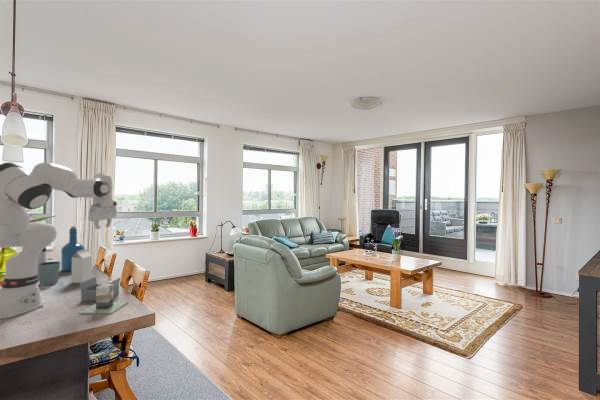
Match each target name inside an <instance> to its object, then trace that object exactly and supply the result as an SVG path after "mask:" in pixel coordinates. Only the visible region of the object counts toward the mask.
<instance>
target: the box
mask: <svg viewBox="0 0 600 400" xmlns="http://www.w3.org/2000/svg"><path fill="white" fill-rule="evenodd" d="M101 284H102V283H101ZM113 302H114V297H113V284H107V283H103V284H102V285H100V286H98V287H96V301H95V304H96V309H108V308H110V307H111V306H113Z"/></svg>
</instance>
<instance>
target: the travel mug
mask: <svg viewBox="0 0 600 400" xmlns="http://www.w3.org/2000/svg"><path fill="white" fill-rule="evenodd" d="M43 262H47V246H46V247H45V248H44V249H43V250H42V252H41V253H40V255H39V258H38V264H39V263H43ZM38 264H37V274H38V277H39V269H38ZM39 279H40V278H39ZM39 279H38V280H39Z"/></svg>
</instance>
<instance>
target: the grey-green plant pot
mask: <svg viewBox="0 0 600 400" xmlns="http://www.w3.org/2000/svg"><path fill="white" fill-rule="evenodd" d="M38 269H39V278H40V279H38V283H39V285H40V286H44V287H45V286H51V285H57V284H58V283H59V275H60V269H61V261H46V262H43V263H39V264H38Z"/></svg>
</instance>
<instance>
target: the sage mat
mask: <svg viewBox="0 0 600 400" xmlns="http://www.w3.org/2000/svg"><path fill="white" fill-rule="evenodd" d="M128 304H129V303H128V301H113V306H111V307H110V308H108V309H96V303H94V304H93V305H90V306H88V307H87V308H84V310H81V311H79V315H112V313H113V314H114V313H115V311H116V312H117V311H118V309H119V310H120V309H121V308H123V307H125V306H126V305H128Z"/></svg>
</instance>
